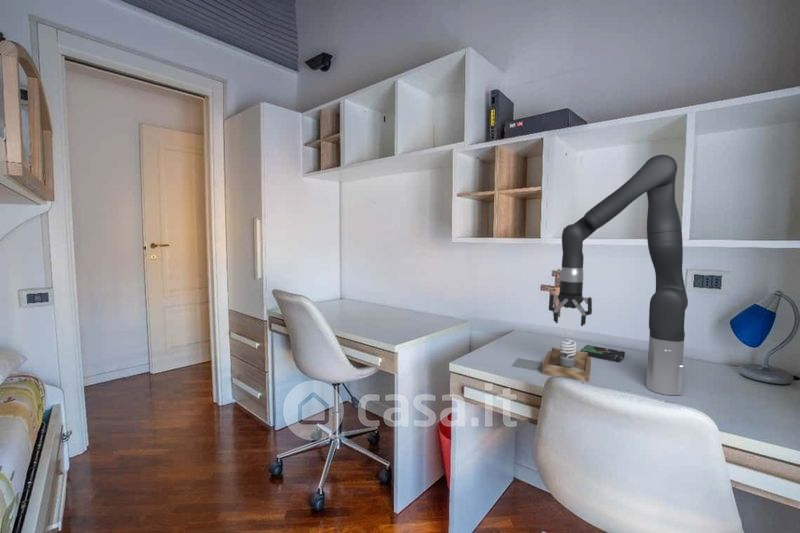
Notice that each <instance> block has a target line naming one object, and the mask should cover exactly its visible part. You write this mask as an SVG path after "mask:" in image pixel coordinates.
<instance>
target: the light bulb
mask: <svg viewBox="0 0 800 533" xmlns="http://www.w3.org/2000/svg"><path fill="white" fill-rule="evenodd" d="M559 349H561V350H560V352H561V353H565V354H567V355H561V356H560V364H561V365H560V366H562V367H568V368H575V367H574V366H575V361H576V360H575V357H573V356H574V355H575V354H576V351H577V343H576V341H575V340H573V339H568V338H566V339H565V340H561V341H560V345H559ZM567 351H569V352H567ZM570 353H573V354H570ZM569 354H570V355H569Z"/></svg>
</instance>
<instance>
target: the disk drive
mask: <svg viewBox="0 0 800 533" xmlns="http://www.w3.org/2000/svg"><path fill="white" fill-rule="evenodd" d="M580 351H581V352H588V357H591V358H595V359H597V360H599V359H600V360H604V361H605V360H606V361H609V362H613V361H614V363H619V362H620V363H621V361H623V359H624V358H625V357H626V351H623V350H617V349H611V348H605V347H601V346H597V345H596V346H595V345H590V344H586V345H585V346H583V348H582V349H580ZM624 356H625V357H624Z"/></svg>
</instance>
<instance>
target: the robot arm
mask: <svg viewBox="0 0 800 533" xmlns="http://www.w3.org/2000/svg"><path fill="white" fill-rule="evenodd" d="M637 170H638V171H636V172H635V173H634V174H633V175H632V176H631V177H630V178H629V179H628V180H627V181H626V182H624V183H623V184H622V185H621V186H619V187H618V188H617V189H616V190H615V191H613V192H612V193H610V194H609V195H607V196H606V197H605V198H603V199H602V200H601V201H600V202H598V203H597V204H595V205H594V206H593V207H591V208H590V209H589V210H588V211H587V212H586V213H584V215H583V216H582V217H581V218H579V219H578V220H577V221H576V222H574V223H571V224H568V225H567V226H566V225H565V227H564V228H563V230H562V233H561V249H562V257H561V258H562V259H561V270H560V276H559V293H558V294H554V293H551V294H550V295H549V303H548V311H551V312H552V313H553V322H555V324H558V323H559V311H560V310H561V309H562V308H565V309H569V308H570V309H577V310H578V312H579V313H580V314H581V318H580V326H581V327H584V326H585V325H586V322H587V321H586V320H587V316H591V315H592V313H593V298H592V297H591V296H589V297H584V296H583V289H584V286H583V285H584V253H583V246H584V245H583V243H584V241H585V240H587V239H588V237H590V236H592V234H593V233H594V232H596V231H597V230H598V229H600V228H602V227H603V226H605V225H606V224H608V223H609V222H611V221H612V220H613V219H614V218H615V217H617V216H618V215H619V214H621V212H623V211H624V210H625V209H626V208H627V207H628V206H629V205H631V204H632V203H633V202H634V201H635V200H637V199H638V198H639V197H641V196H643V195H644V194H645V193H646V196H647V203H648V204H647V215H646V216H647V218H646V238H647V239H646V240H647V247H648V251H649V256H650V259H651V264H652V265H653V269H654V273H655V274H654V275H655V292H654V293H653V294H652V296H651V298H650V301H649V307H648V308H649V311H648V313H649V314H648V329H649V336H648V350H647V352H648V353H647V366H646V368H647V369H646V380H645V382H646V383H645V384H646V386H645V387H646V389H648V390H649V391H652V392H655V393H657V394H662V395H667V396H683V383H684V373H685V372H684V370H685V369H684V368H685V366H684V364H683V362H684V361H683V360H684V350H685V347H684V346H685V336H686V335H685V334H686V332H685V317H686V310H687V308H688V305H689V300H688V295H687V291H686V286H685V282H684V276H683V275H684V274H683V260H684V255H683V254H684V253H683V250H684V248H683V247H684V246H683V243H684V242H683V232H682V230H683V229H682V223H681V218H680V214H679V211H678V207H677V202H676V176H677V171H678V164H677V161H676V160H675V159H674V157H672V156H671V155H668V154H657V155H655V156H652V157H650V158H649V159H648V160H646V161H645V163H644V164H643V165H642V166H641V167H640V168H639V169H637ZM556 300H558V301H559V304H558V305H557V306H556V307H554V302H555V301H556ZM583 302H584V303H585V304H586V305H587V310H585V309H584V307H583V306H582V303H583Z"/></svg>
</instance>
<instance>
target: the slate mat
mask: <svg viewBox="0 0 800 533" xmlns="http://www.w3.org/2000/svg"><path fill="white" fill-rule="evenodd" d="M541 365H543V361H539V360H538V361H537V360H533V359H532V360H531V359H526V358H519V357H518V358H517V359H516V360H515V362H514V363H513V366H512V367H514V366H515V368H520V367H521V369H528V370H533V371H539V369H540V368H541Z"/></svg>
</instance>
